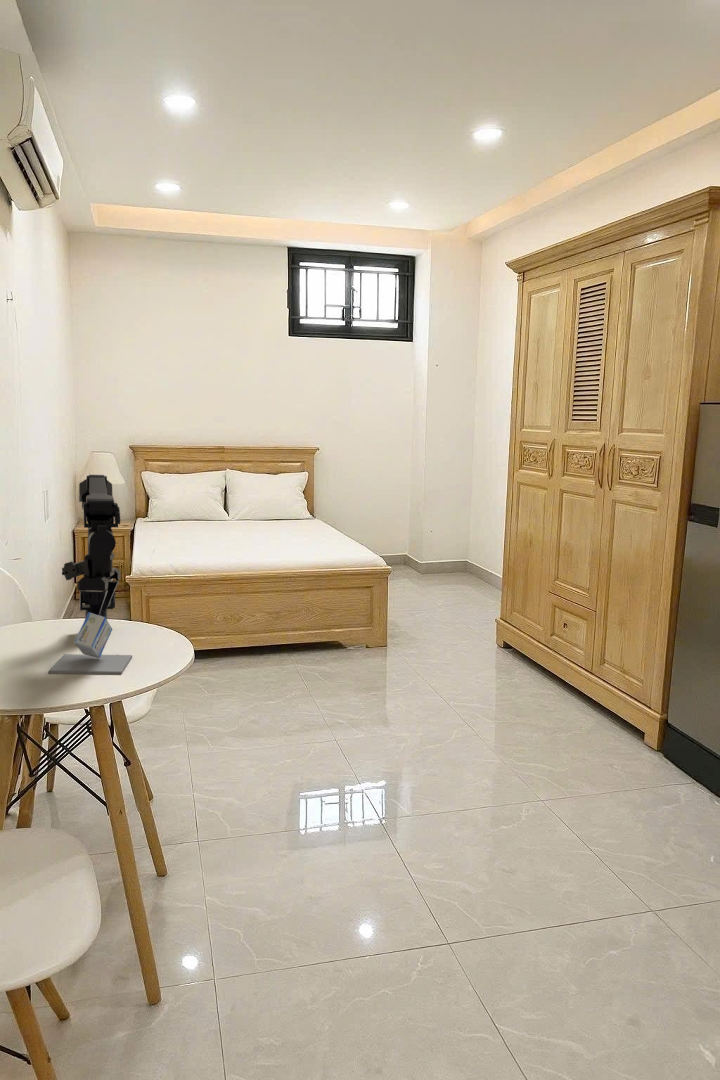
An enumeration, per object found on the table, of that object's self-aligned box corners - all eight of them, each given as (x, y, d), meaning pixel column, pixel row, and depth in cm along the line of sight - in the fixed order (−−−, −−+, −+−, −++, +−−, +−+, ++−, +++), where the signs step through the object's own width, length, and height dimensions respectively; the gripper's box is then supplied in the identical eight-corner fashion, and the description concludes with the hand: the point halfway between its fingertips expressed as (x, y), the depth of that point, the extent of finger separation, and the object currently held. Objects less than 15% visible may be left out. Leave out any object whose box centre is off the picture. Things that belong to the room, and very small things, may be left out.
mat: (64, 656, 188) (64, 654, 188) (132, 657, 190) (132, 655, 190) (48, 673, 175) (48, 670, 175) (121, 674, 177) (121, 671, 177)
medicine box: (99, 659, 186) (91, 648, 178) (81, 653, 186) (73, 642, 178) (113, 628, 189) (105, 616, 181) (95, 623, 189) (87, 611, 182)
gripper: (75, 544, 196) (75, 605, 198) (54, 554, 178) (54, 621, 180) (121, 546, 198) (120, 606, 199) (104, 555, 179) (104, 622, 181)
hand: (99, 614), depth 190 cm, fingers open, 9 cm apart
